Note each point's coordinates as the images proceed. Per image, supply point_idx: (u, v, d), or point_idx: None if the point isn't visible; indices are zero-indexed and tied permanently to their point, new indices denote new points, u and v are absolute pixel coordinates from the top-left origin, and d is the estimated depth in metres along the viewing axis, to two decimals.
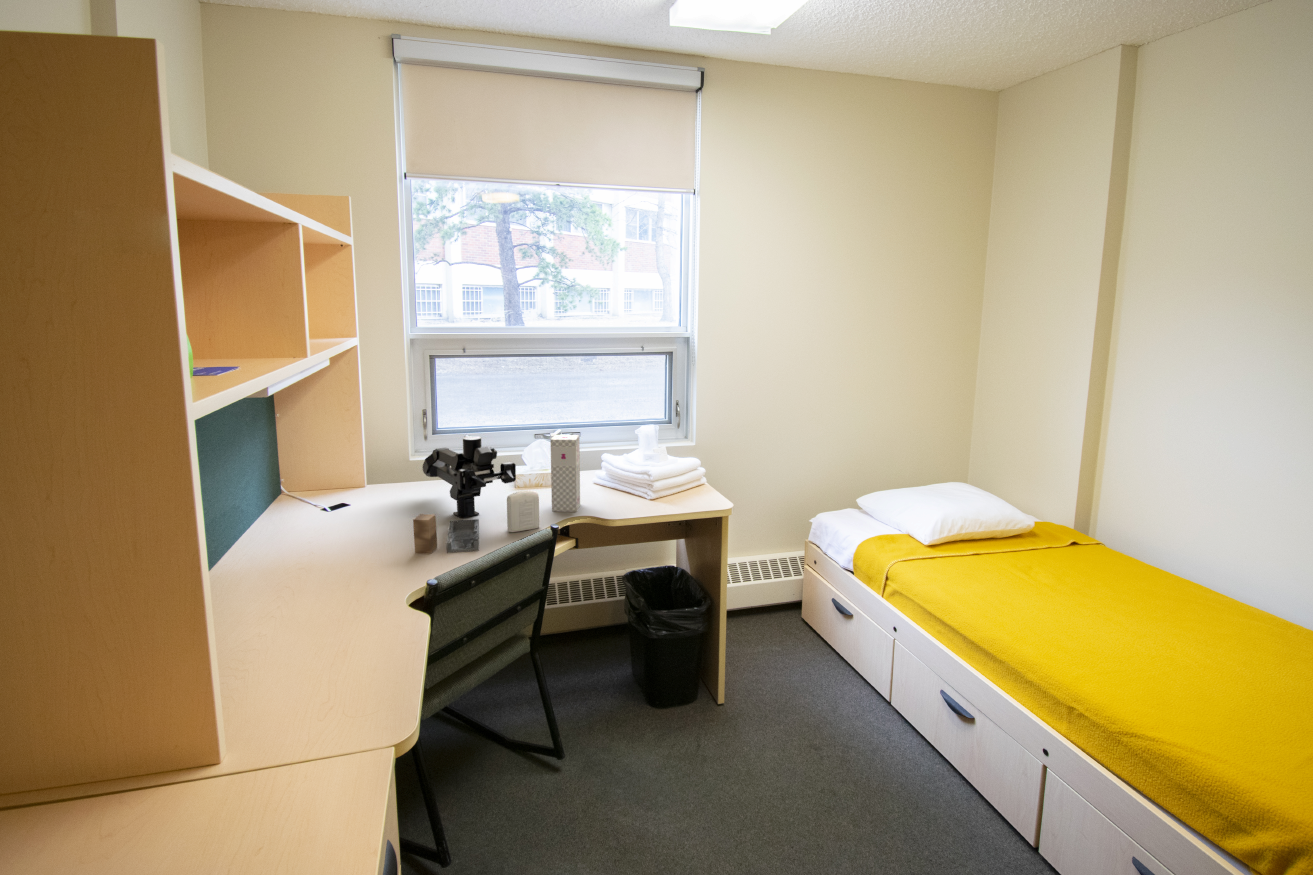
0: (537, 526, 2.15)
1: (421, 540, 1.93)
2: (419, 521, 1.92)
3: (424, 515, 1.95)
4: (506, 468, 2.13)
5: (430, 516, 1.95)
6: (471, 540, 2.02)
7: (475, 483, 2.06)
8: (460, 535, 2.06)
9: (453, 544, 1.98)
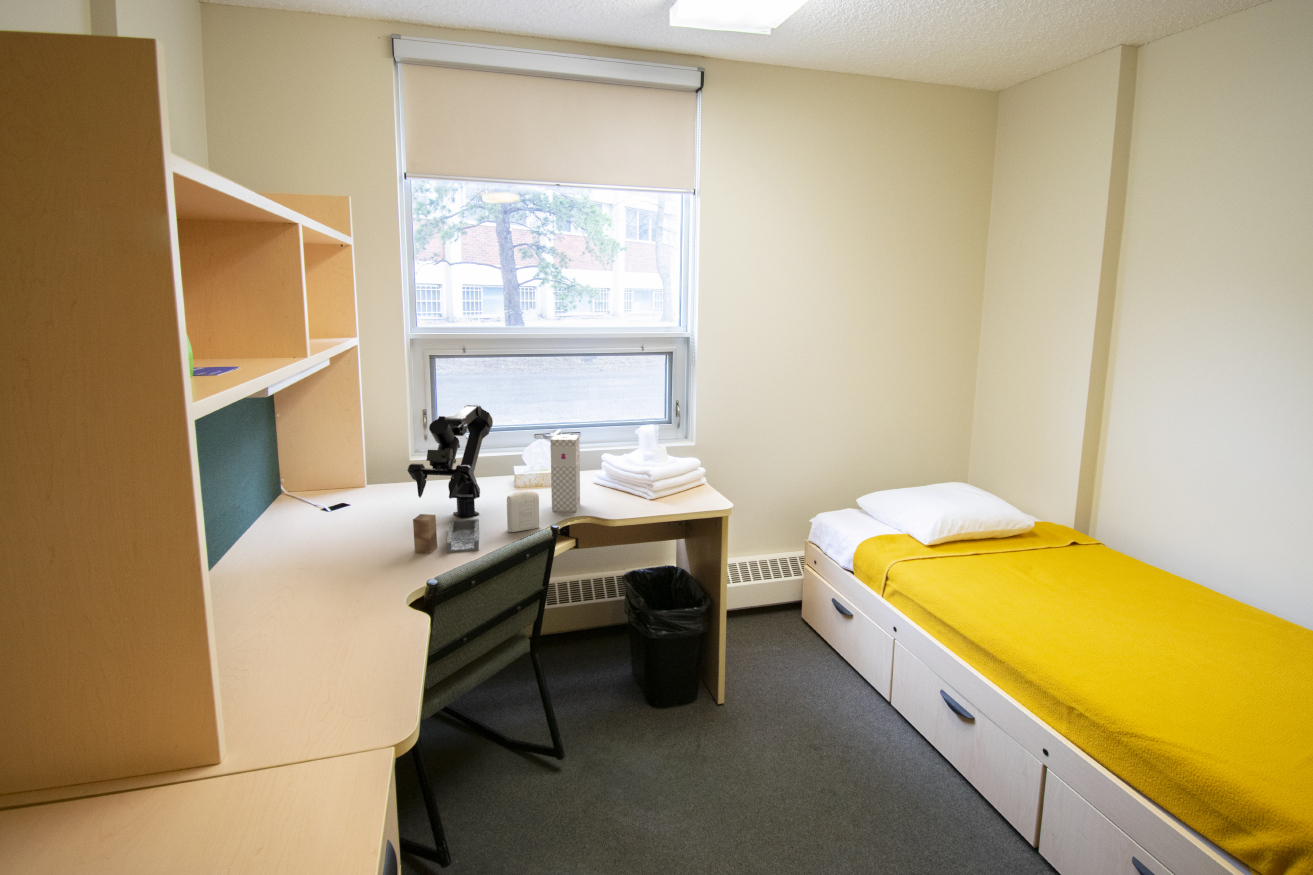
0: (537, 526, 2.15)
1: (421, 540, 1.93)
2: (419, 521, 1.92)
3: (424, 515, 1.95)
4: (455, 476, 2.02)
5: (430, 516, 1.94)
6: (471, 540, 2.02)
7: None
8: (460, 535, 2.06)
9: (453, 544, 1.98)
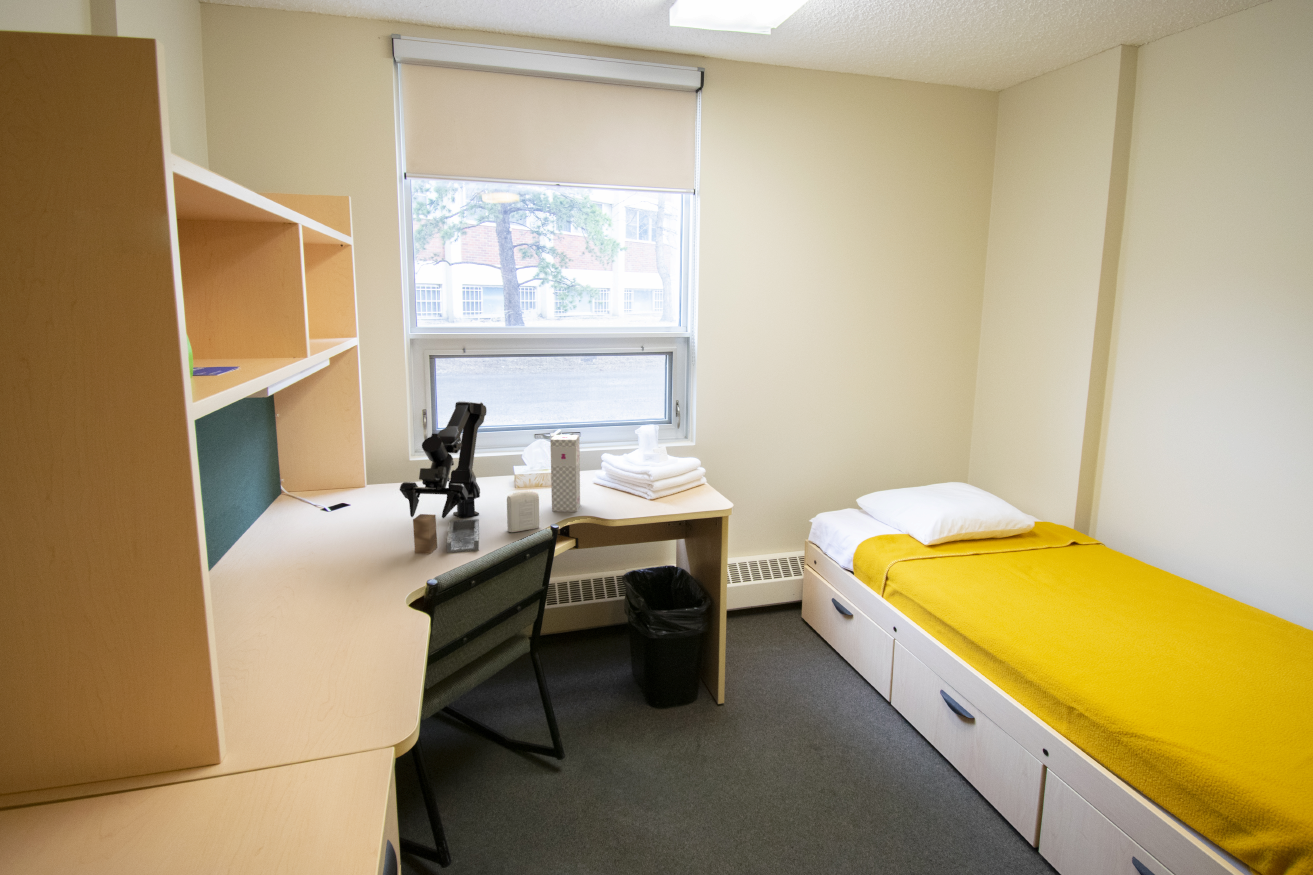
0: (537, 526, 2.15)
1: (421, 540, 1.93)
2: (419, 521, 1.92)
3: (424, 515, 1.95)
4: (448, 495, 1.97)
5: (430, 516, 1.94)
6: (471, 540, 2.02)
7: None
8: (460, 535, 2.06)
9: (453, 544, 1.98)
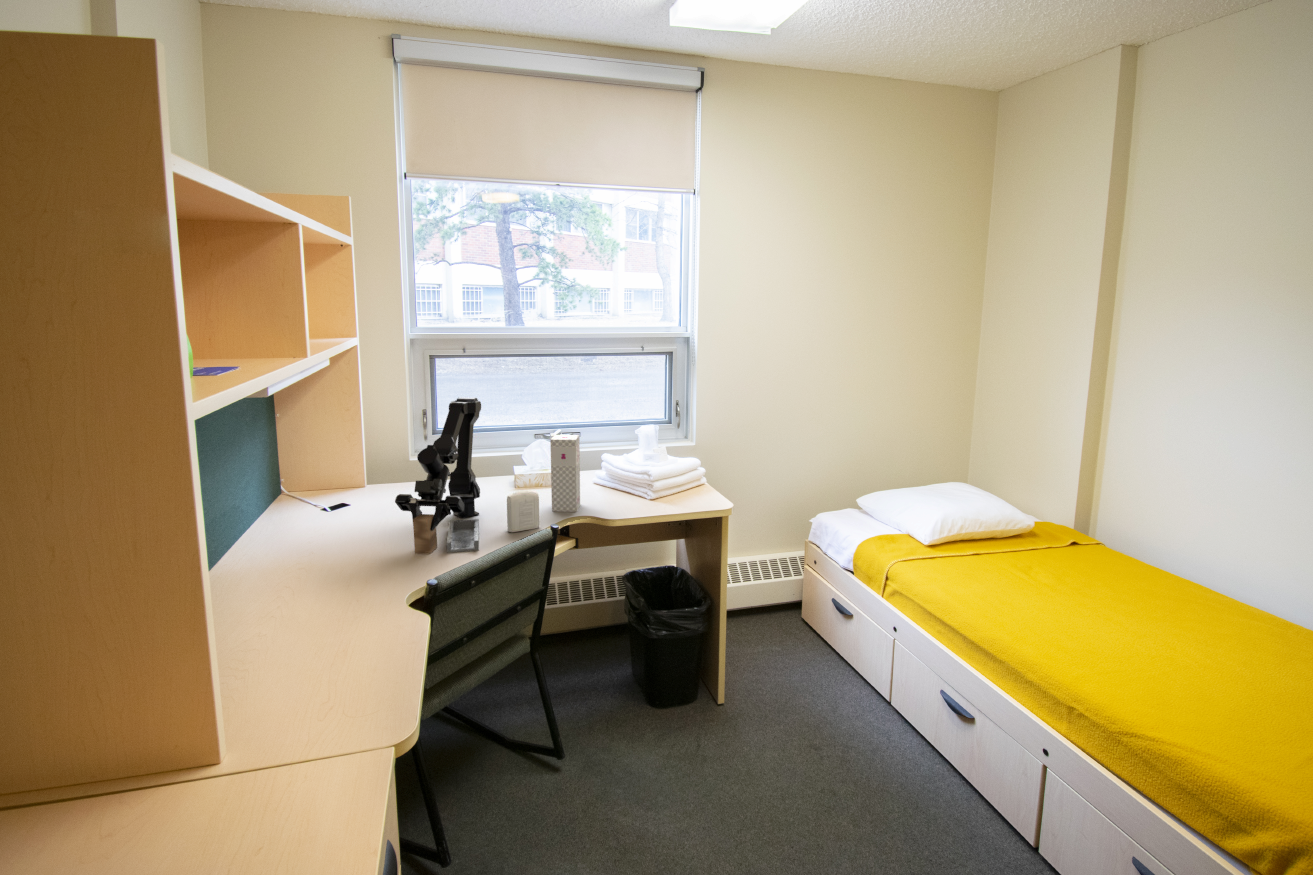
0: (537, 526, 2.15)
1: (421, 540, 1.93)
2: (419, 521, 1.92)
3: (424, 515, 1.95)
4: (436, 508, 1.94)
5: (430, 516, 1.94)
6: (471, 540, 2.02)
7: None
8: (460, 535, 2.06)
9: (453, 544, 1.98)
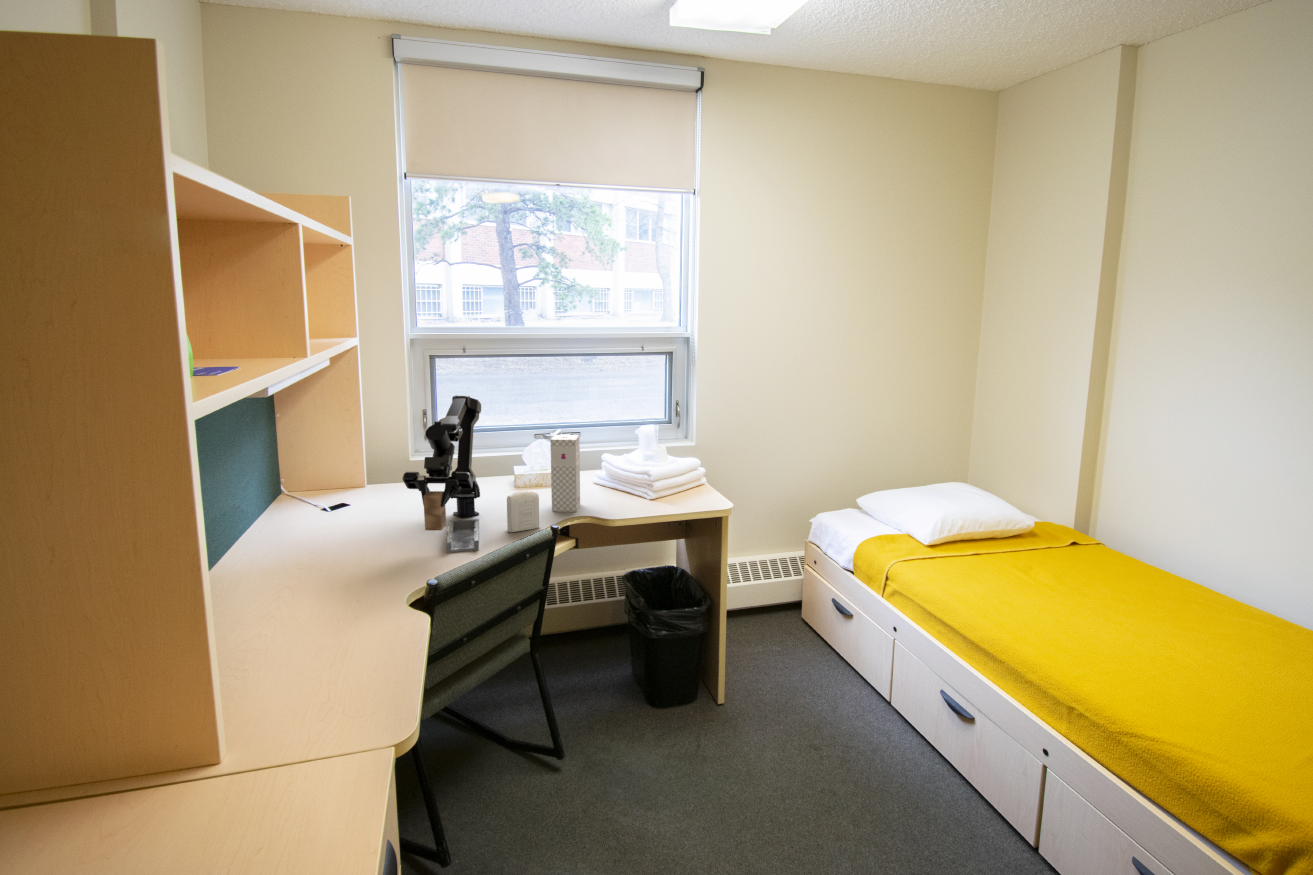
0: (537, 526, 2.15)
1: (432, 516, 1.91)
2: (429, 497, 1.90)
3: (433, 492, 1.94)
4: (446, 484, 1.93)
5: (440, 493, 1.93)
6: (471, 540, 2.02)
7: None
8: (460, 535, 2.06)
9: (453, 544, 1.98)
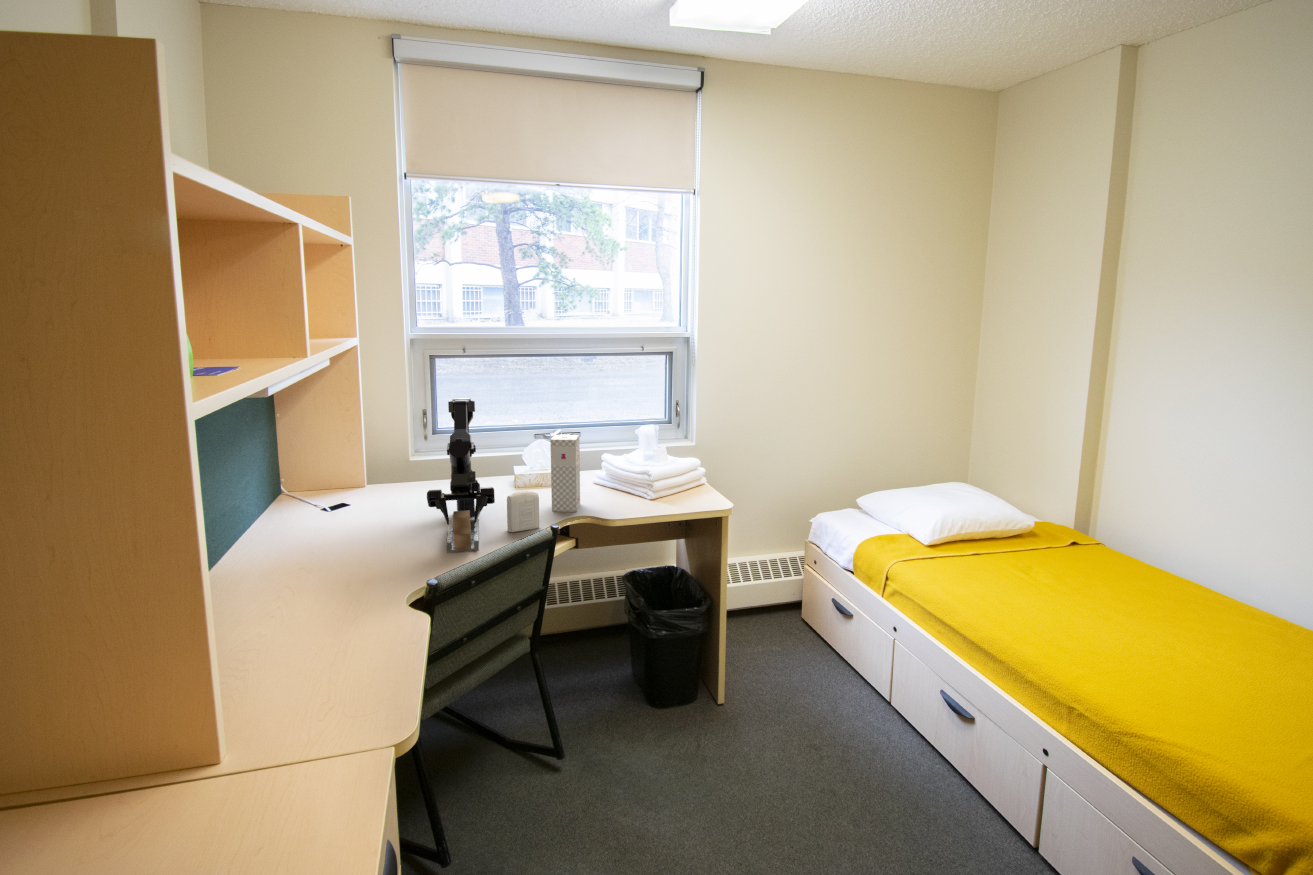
0: (537, 526, 2.15)
1: (462, 536, 1.94)
2: (459, 517, 1.92)
3: (459, 512, 1.96)
4: (477, 500, 1.97)
5: (466, 512, 1.96)
6: (471, 540, 2.02)
7: (443, 511, 1.95)
8: None
9: (453, 544, 1.98)
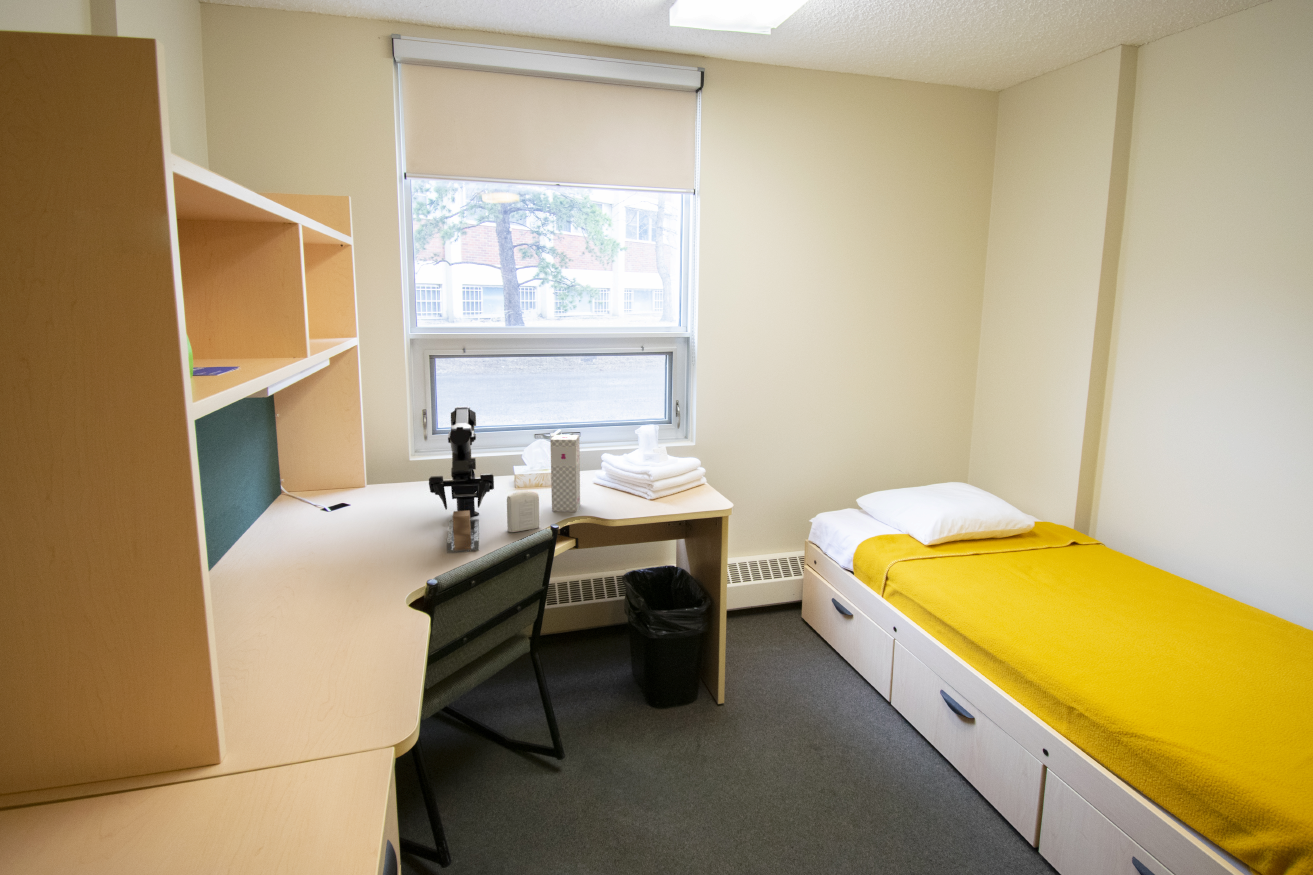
0: (537, 526, 2.15)
1: (462, 536, 1.94)
2: (459, 517, 1.92)
3: (459, 512, 1.96)
4: (480, 485, 2.04)
5: (466, 512, 1.96)
6: (471, 540, 2.02)
7: (442, 497, 2.03)
8: None
9: (453, 544, 1.98)
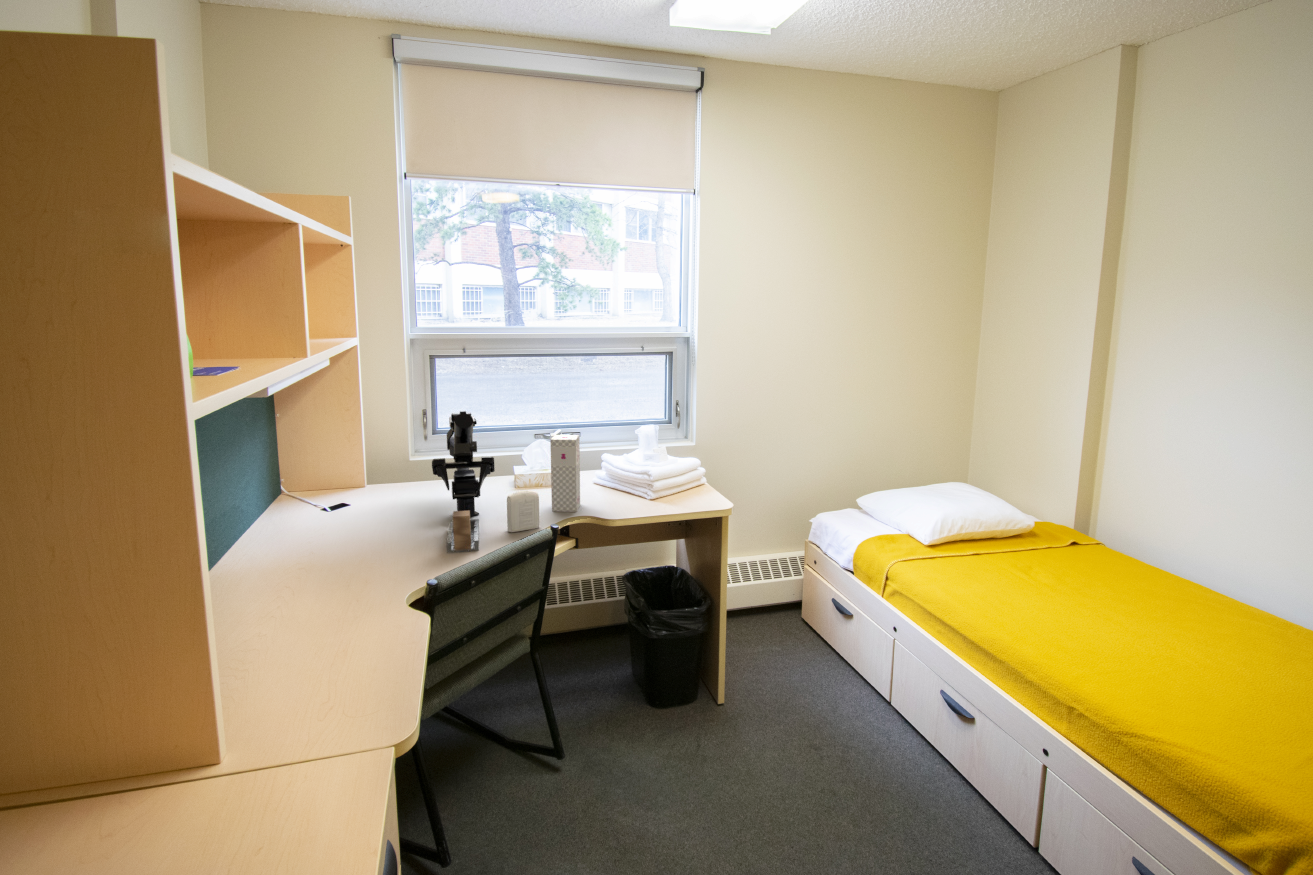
0: (537, 526, 2.15)
1: (462, 536, 1.94)
2: (459, 517, 1.92)
3: (459, 512, 1.96)
4: (481, 468, 2.12)
5: (466, 512, 1.96)
6: (471, 540, 2.02)
7: None
8: None
9: (453, 544, 1.98)
